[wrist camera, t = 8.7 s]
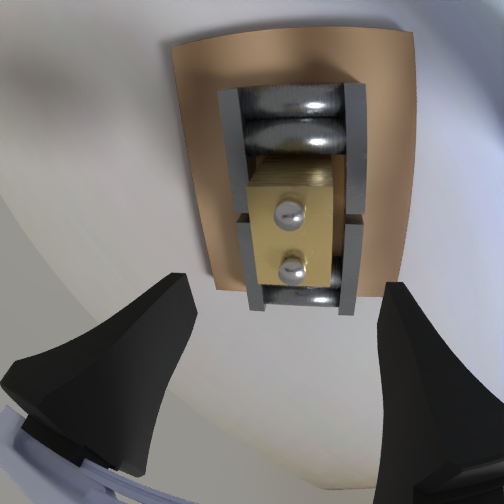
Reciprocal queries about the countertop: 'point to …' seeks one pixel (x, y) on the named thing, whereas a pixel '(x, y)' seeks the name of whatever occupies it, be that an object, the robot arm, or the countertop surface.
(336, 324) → the countertop surface
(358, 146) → the chain end
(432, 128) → the countertop surface
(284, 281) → the brass block with studs
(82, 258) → the countertop surface
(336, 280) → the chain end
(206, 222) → the chain board
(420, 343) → the robot arm
